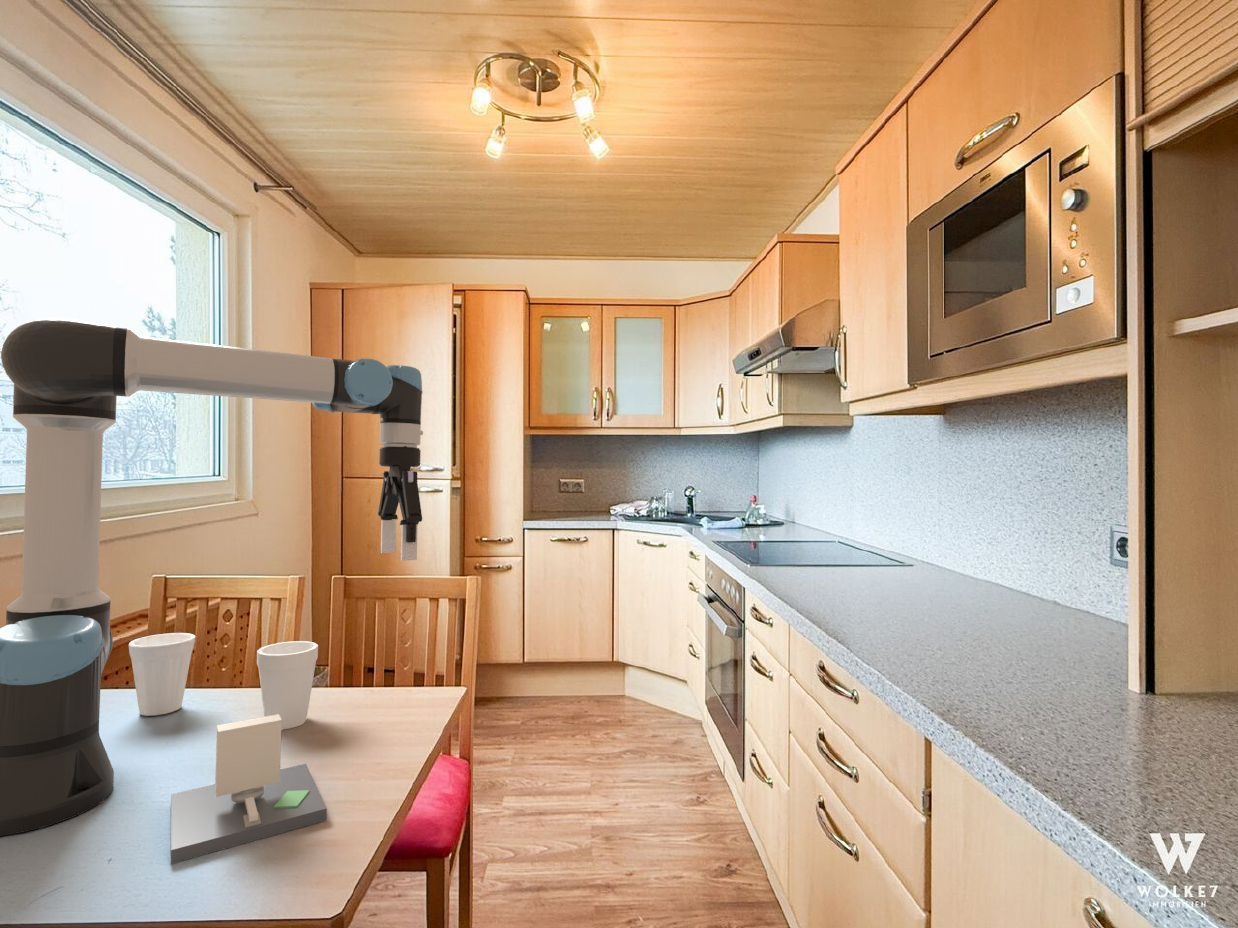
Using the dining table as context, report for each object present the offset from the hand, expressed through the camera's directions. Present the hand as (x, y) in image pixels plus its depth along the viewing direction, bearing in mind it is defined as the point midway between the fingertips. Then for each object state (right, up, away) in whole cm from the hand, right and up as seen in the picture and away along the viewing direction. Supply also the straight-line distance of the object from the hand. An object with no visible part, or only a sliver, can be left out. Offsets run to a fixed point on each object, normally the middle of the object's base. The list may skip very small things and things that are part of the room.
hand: (398, 556), depth 122 cm
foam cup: (-16, -28, -11) cm, 34 cm away
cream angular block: (-3, -25, -43) cm, 50 cm away
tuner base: (-5, -27, -41) cm, 49 cm away
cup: (-41, -28, -7) cm, 50 cm away
